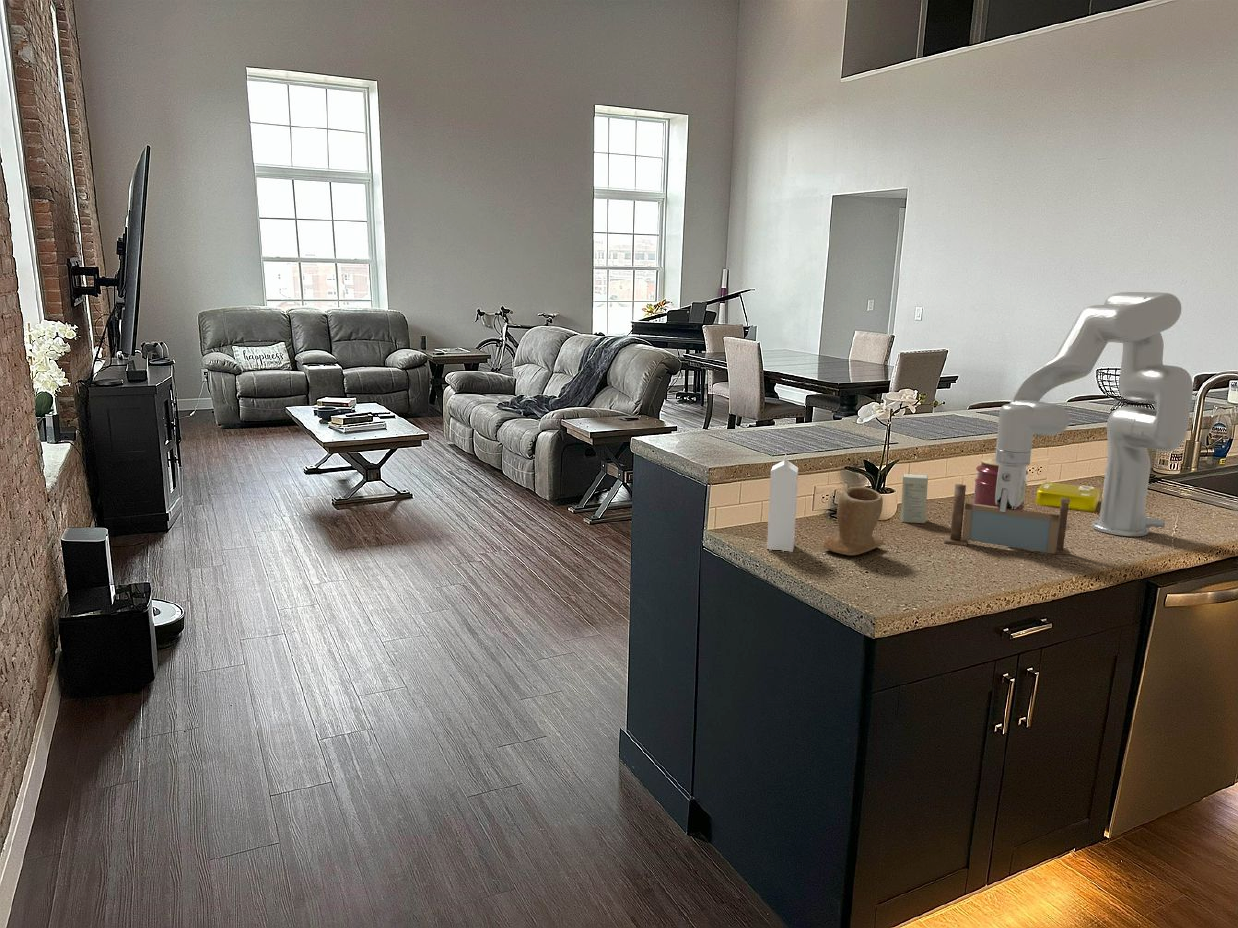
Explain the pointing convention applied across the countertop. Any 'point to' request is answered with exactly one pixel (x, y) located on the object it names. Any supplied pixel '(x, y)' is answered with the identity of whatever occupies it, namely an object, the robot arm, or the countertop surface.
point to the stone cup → (856, 522)
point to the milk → (782, 506)
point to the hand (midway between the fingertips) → (1005, 532)
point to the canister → (988, 483)
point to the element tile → (1068, 496)
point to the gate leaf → (1011, 527)
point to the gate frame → (958, 519)
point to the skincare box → (914, 498)
